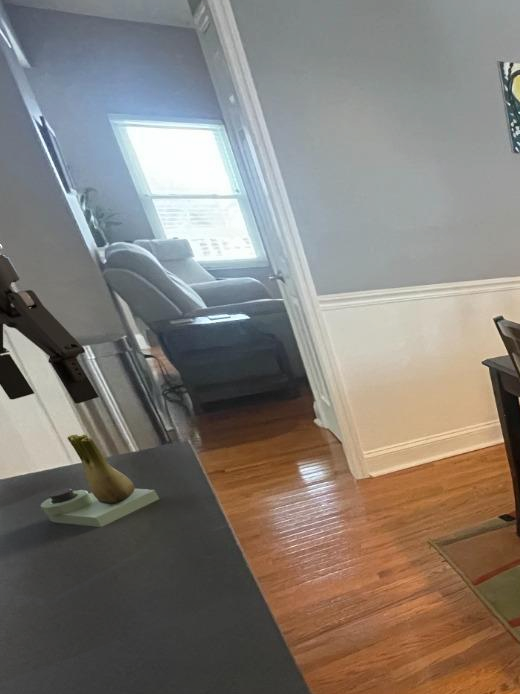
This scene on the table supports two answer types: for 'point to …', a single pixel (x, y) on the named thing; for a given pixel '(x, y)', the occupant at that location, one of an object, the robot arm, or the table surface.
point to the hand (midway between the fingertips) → (54, 398)
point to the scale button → (62, 495)
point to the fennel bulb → (101, 472)
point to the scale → (95, 508)
